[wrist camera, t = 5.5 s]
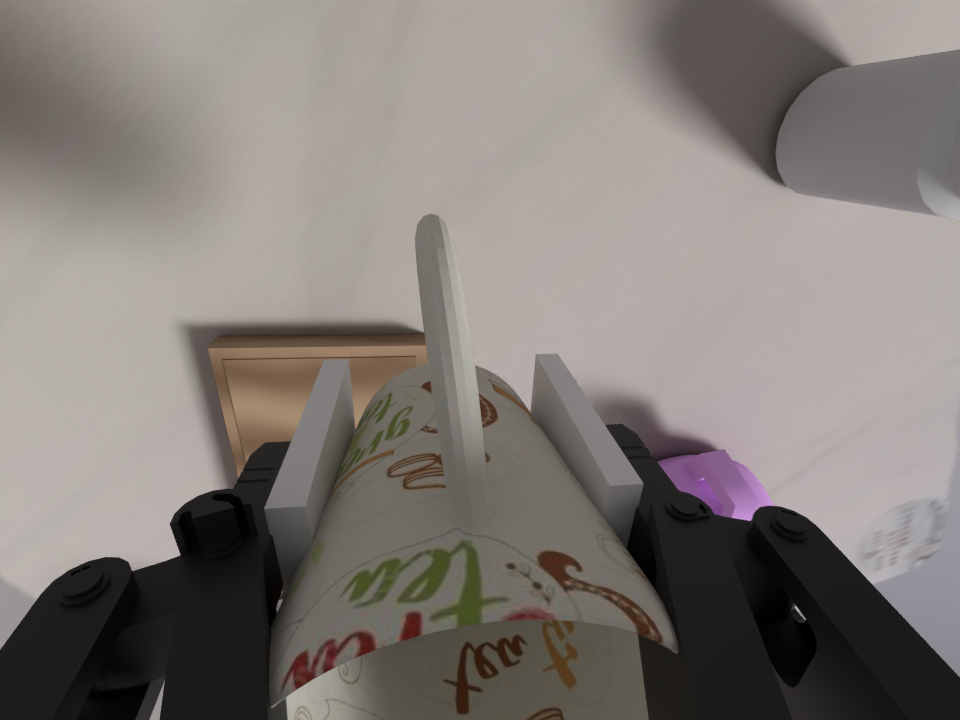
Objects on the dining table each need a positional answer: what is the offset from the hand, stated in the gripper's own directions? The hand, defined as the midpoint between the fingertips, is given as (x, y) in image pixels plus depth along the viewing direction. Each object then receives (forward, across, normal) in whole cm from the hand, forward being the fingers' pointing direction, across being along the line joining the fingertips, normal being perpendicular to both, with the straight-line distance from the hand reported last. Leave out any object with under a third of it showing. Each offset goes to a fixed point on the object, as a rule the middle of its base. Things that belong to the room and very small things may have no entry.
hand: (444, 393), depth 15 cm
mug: (+1, 0, 0) cm, 1 cm away
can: (+17, +26, +9) cm, 32 cm away
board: (+17, -7, -14) cm, 23 cm away
